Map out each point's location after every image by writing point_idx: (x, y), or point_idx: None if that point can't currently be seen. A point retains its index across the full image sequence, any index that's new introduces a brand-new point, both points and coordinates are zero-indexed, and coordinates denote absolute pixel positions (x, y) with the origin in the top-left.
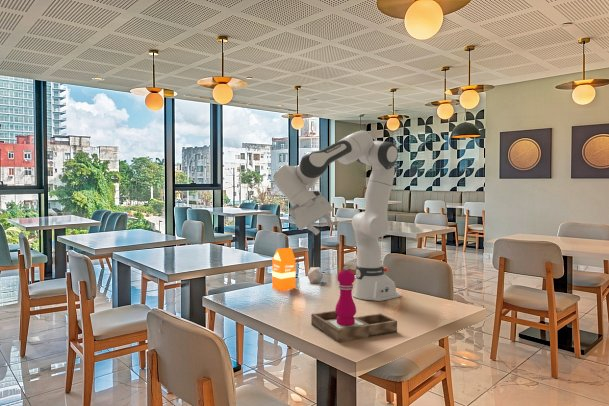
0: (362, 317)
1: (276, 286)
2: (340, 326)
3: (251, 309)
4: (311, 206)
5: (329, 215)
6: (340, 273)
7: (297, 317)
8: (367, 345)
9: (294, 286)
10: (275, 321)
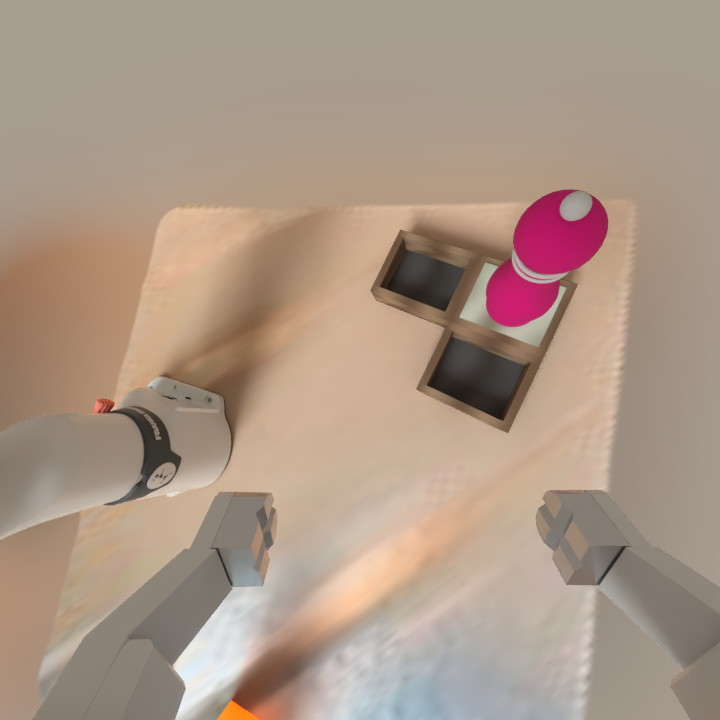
0: (429, 306)
1: None
2: None
3: (524, 703)
4: None
5: (95, 645)
6: (603, 227)
7: (479, 503)
8: None
9: (229, 709)
10: None
